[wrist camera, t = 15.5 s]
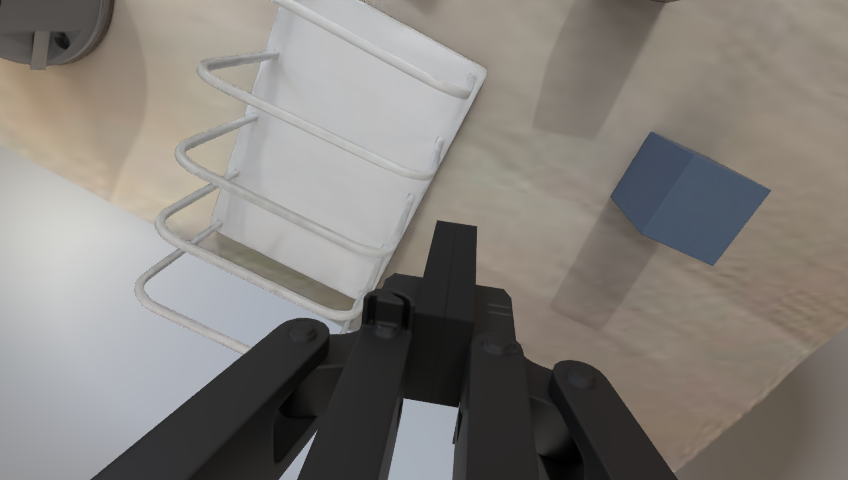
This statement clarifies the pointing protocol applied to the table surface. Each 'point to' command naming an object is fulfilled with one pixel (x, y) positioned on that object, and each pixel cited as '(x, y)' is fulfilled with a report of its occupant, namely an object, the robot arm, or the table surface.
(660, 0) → the walnut block
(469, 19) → the table surface
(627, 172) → the slate-blue block
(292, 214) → the file sorter
